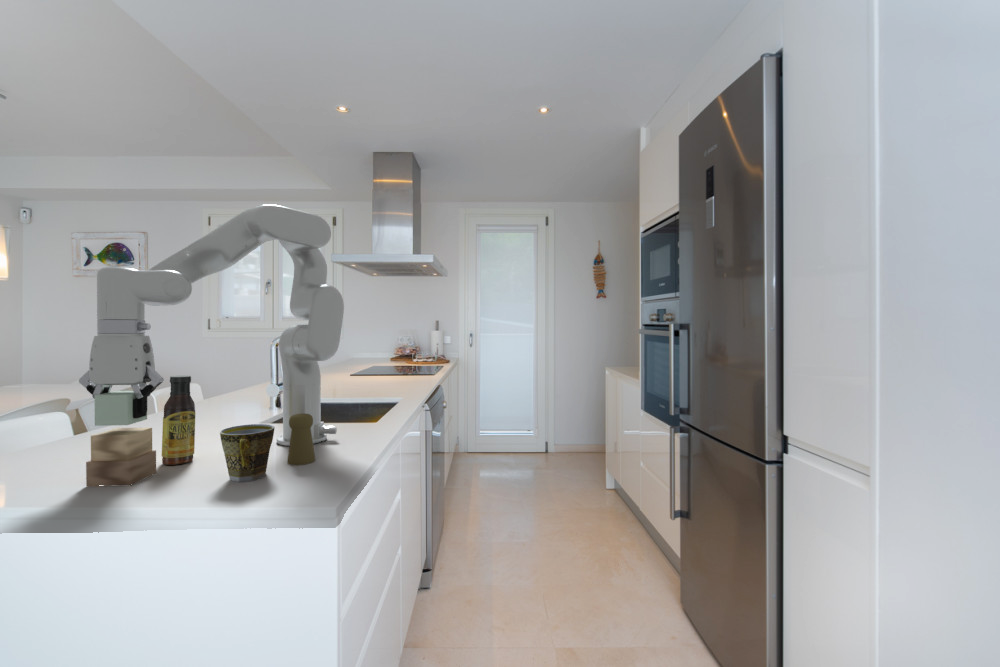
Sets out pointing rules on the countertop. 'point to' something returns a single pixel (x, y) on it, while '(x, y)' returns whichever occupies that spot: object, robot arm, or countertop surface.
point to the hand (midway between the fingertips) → (122, 416)
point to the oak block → (121, 444)
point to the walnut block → (120, 470)
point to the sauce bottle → (178, 423)
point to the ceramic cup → (247, 450)
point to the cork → (301, 440)
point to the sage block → (115, 409)
